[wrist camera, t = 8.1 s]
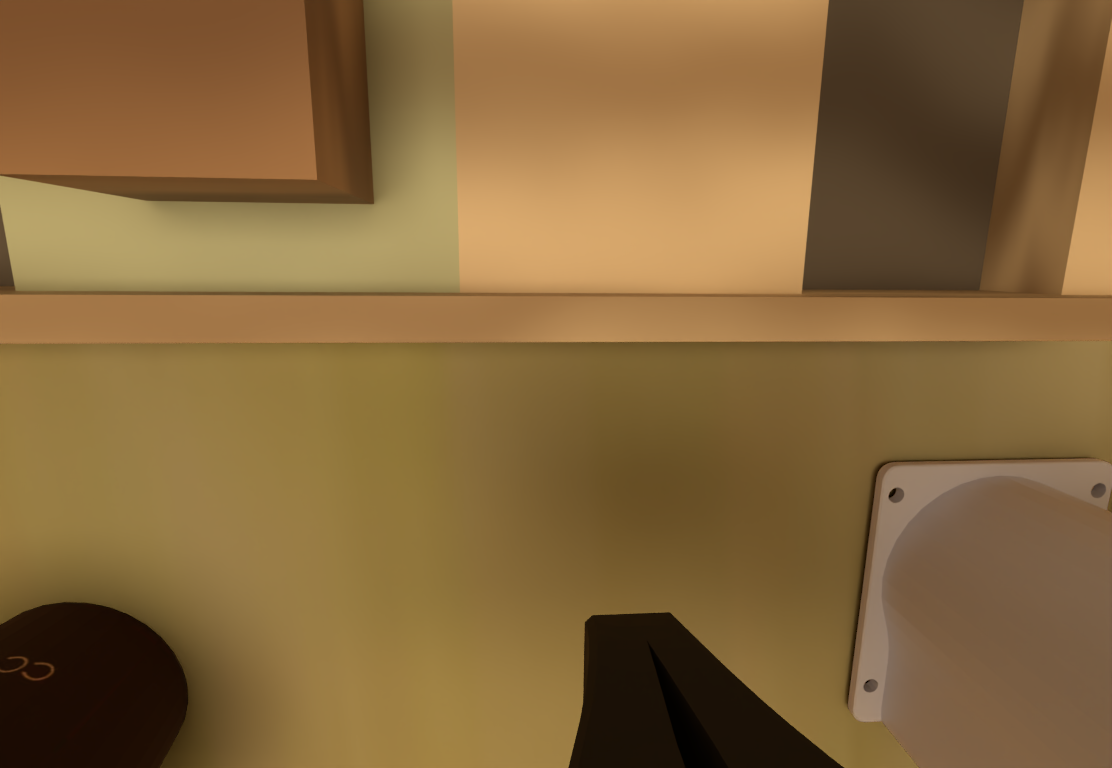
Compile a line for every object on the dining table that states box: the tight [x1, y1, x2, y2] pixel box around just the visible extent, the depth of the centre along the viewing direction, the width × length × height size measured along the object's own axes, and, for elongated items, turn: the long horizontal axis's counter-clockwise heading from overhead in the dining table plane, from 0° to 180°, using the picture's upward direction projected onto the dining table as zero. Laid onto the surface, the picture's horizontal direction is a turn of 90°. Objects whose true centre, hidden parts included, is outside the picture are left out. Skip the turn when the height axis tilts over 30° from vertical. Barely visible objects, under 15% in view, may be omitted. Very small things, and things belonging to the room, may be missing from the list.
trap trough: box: [0, 0, 1112, 344], centre depth 14 cm, size 11×36×4 cm, turn 90°
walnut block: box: [0, 0, 374, 204], centre depth 11 cm, size 5×5×4 cm
